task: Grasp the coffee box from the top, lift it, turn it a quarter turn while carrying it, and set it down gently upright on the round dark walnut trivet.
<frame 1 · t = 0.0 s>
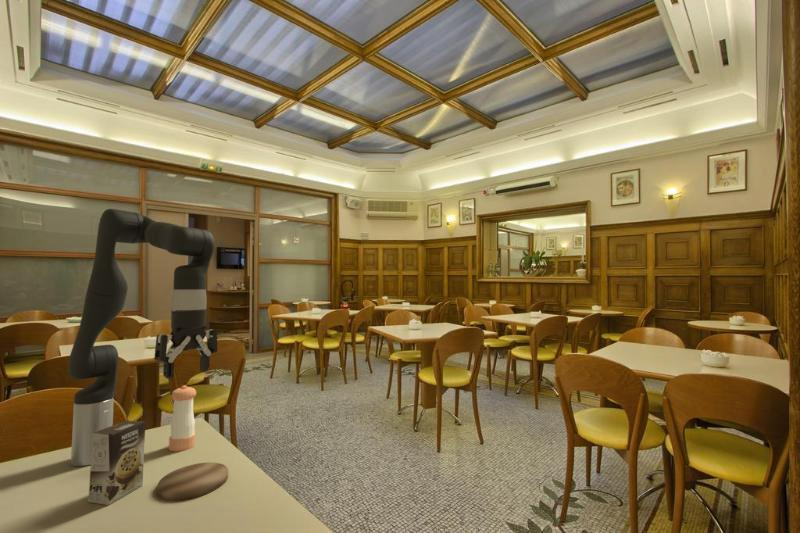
hand: (187, 374, 90), 29 cm above the table, tool pointing down, fingers open, 8 cm apart
pepper shaker: (182, 447, 118), on the table
coffee box: (116, 494, 90), on the table
walnut trivet: (194, 482, 95), on the table
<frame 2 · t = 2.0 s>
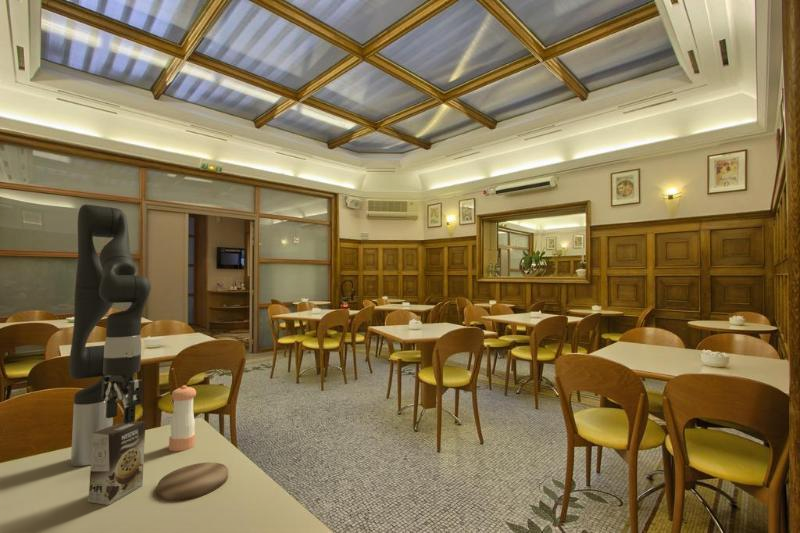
hand: (120, 420, 92), 18 cm above the table, tool pointing down, fingers open, 8 cm apart
nothing on the table moved.
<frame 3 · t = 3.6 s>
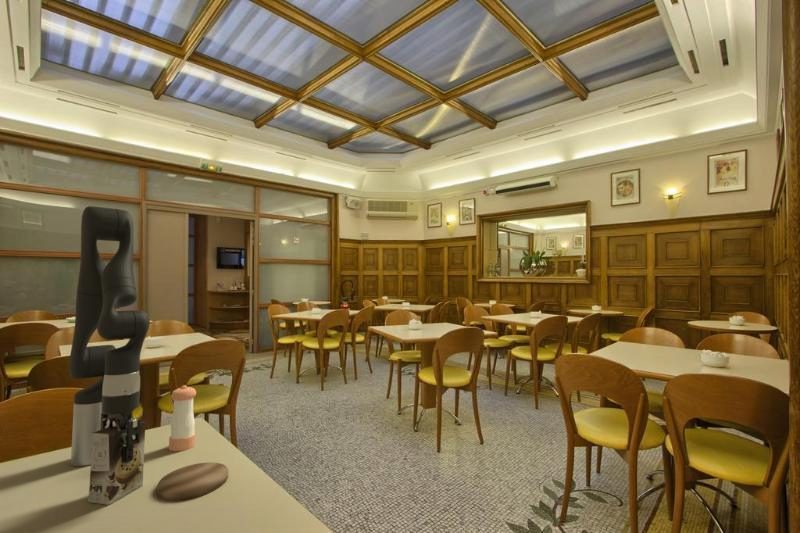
hand: (118, 458, 91), 8 cm above the table, tool pointing down, fingers closed on coffee box, 7 cm apart
coffee box: (117, 494, 90), on the table, touching gripper
everything else where it was.
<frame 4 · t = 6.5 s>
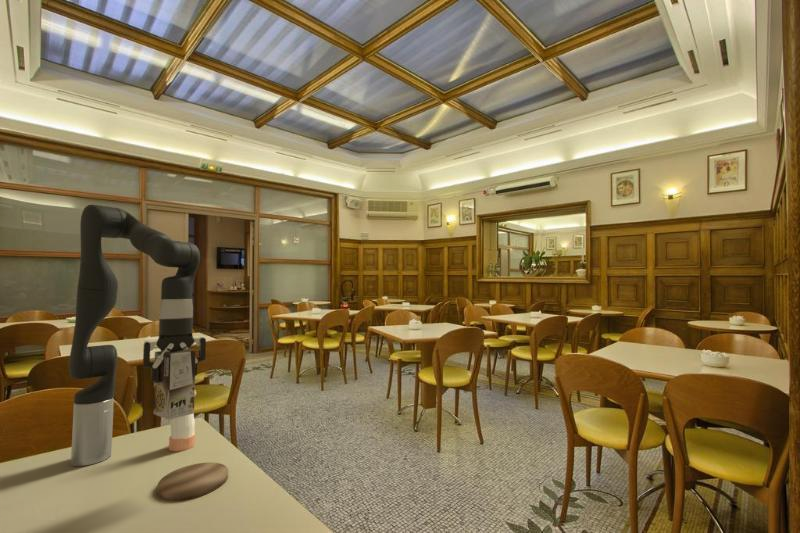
hand: (174, 380, 95), 27 cm above the table, tool pointing down, fingers closed on coffee box, 7 cm apart
coffee box: (173, 414, 95), point 18 cm above the table, touching gripper
everything else where it was.
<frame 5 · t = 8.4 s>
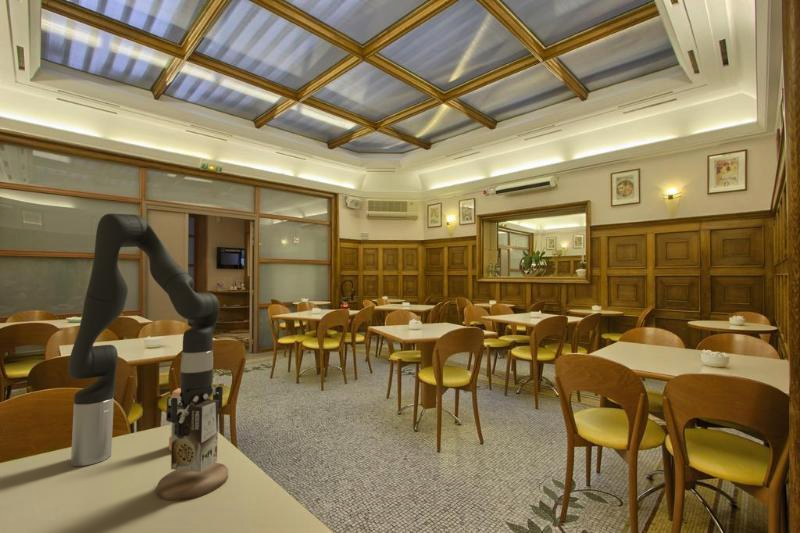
hand: (195, 431, 96), 13 cm above the table, tool pointing down, fingers closed on coffee box, 7 cm apart
coffee box: (194, 466, 96), point 4 cm above the table, touching gripper
everything else where it was.
when the fingers open (11 cm above the table, at t = 9.7 s): coffee box drops 1 cm, resting on walnut trivet.
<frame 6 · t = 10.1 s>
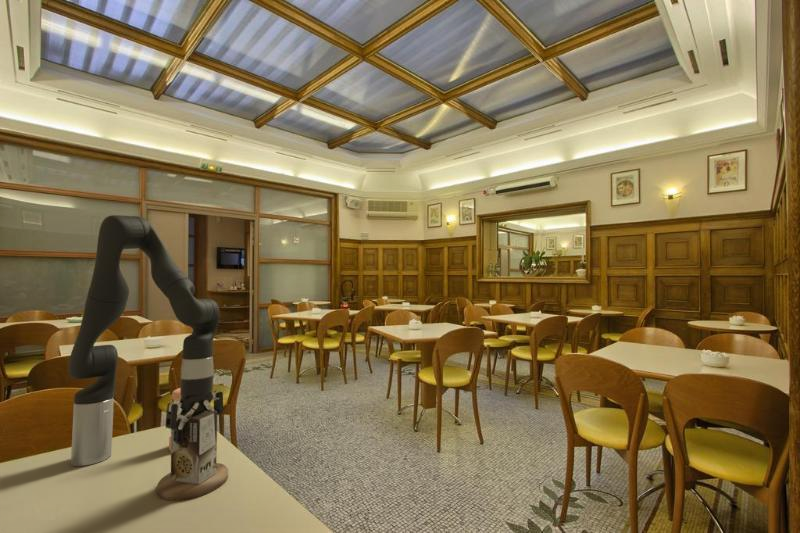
hand: (195, 437, 96), 11 cm above the table, tool pointing down, fingers open, 8 cm apart
coffee box: (193, 477, 95), point 1 cm above the table, touching walnut trivet
everything else where it was.
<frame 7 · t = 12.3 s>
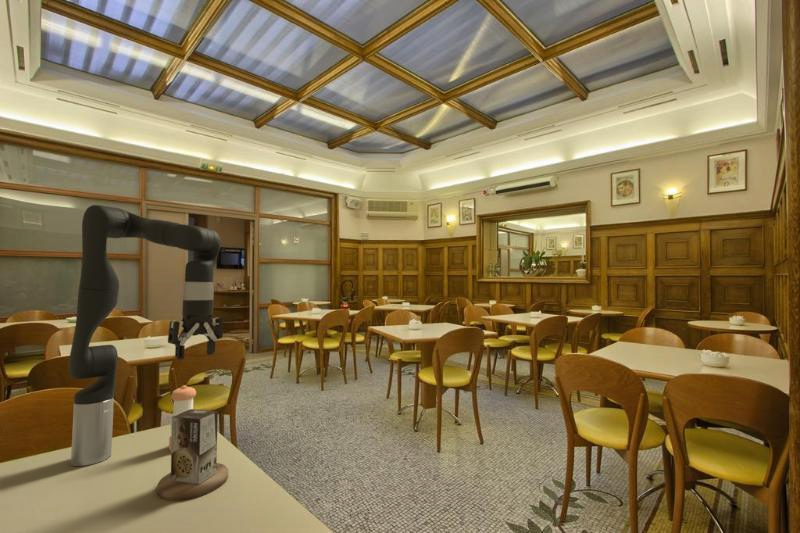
hand: (195, 356, 102), 31 cm above the table, tool pointing down, fingers open, 8 cm apart
nothing on the table moved.
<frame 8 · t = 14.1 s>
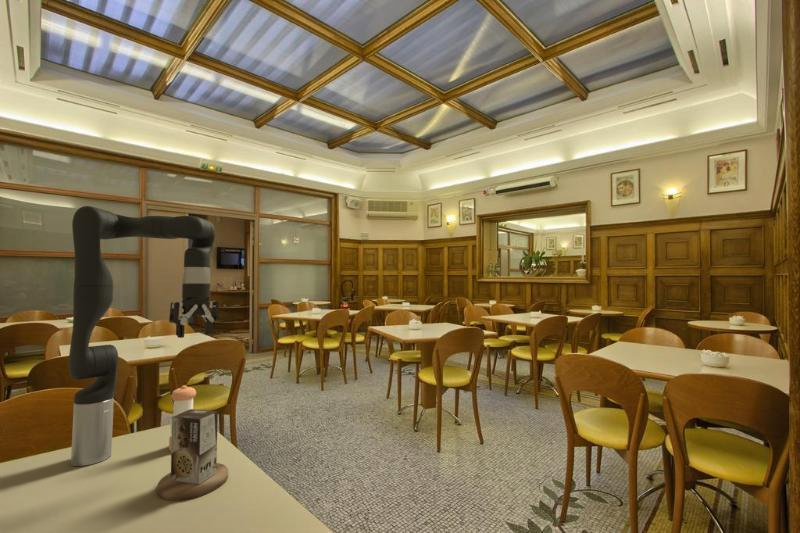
hand: (194, 336, 111), 36 cm above the table, tool pointing down, fingers open, 8 cm apart
nothing on the table moved.
at the end: coffee box 0.1 cm off-centre on the walnut trivet, point 1.3 cm above the walnut trivet's base; coffee box tilted 0°; the gripper is holding nothing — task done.
